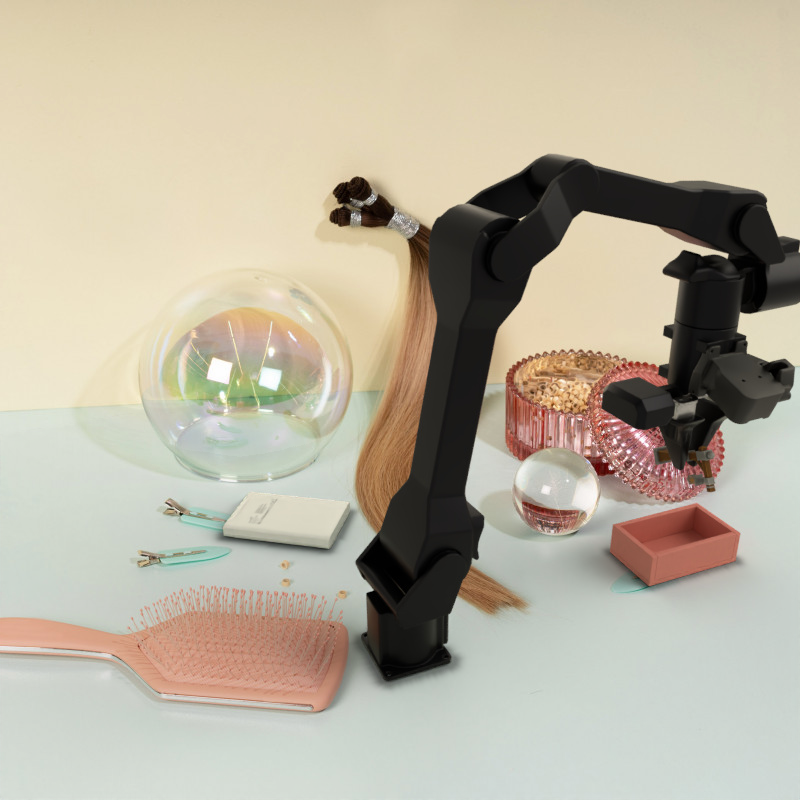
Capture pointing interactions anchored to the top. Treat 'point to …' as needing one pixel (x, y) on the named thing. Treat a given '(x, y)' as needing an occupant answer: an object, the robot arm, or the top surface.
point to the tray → (674, 543)
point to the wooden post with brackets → (703, 455)
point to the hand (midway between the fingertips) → (684, 466)
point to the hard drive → (288, 519)
